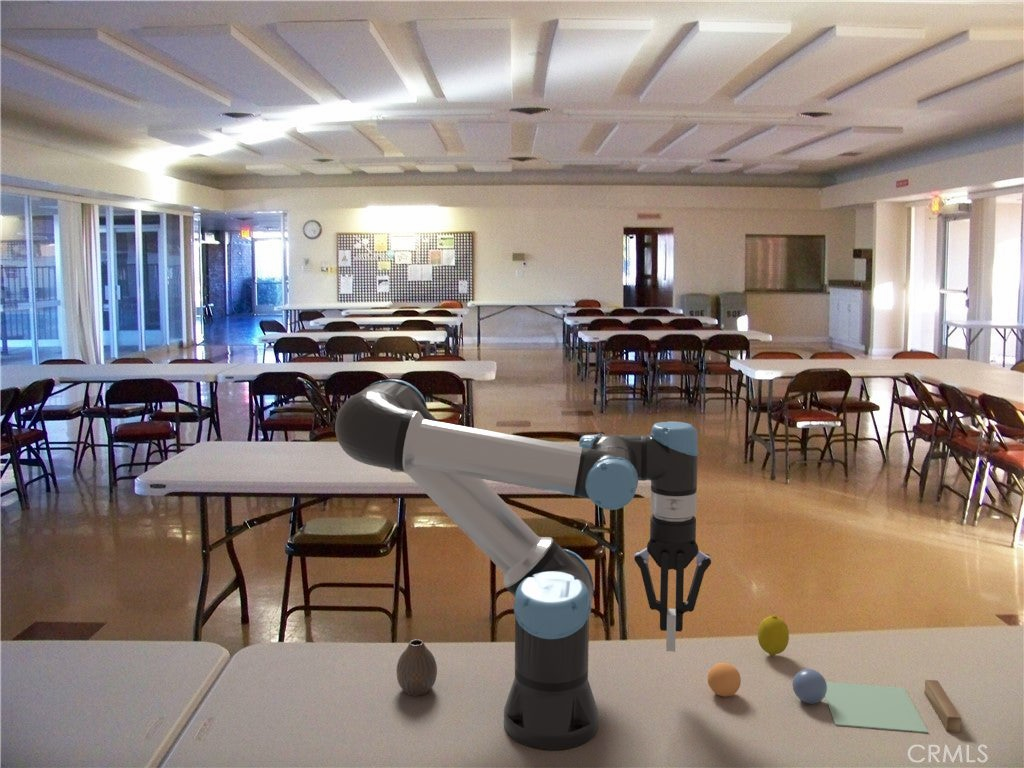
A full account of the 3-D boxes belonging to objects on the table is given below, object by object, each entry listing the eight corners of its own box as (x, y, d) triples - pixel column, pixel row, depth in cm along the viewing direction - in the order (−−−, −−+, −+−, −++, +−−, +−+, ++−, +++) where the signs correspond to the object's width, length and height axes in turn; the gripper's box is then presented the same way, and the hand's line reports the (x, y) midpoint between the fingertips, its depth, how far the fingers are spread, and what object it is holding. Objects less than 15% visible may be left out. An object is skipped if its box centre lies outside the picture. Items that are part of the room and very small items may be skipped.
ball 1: (707, 701, 149) (709, 670, 149) (706, 685, 155) (707, 655, 154) (741, 704, 149) (742, 673, 148) (738, 687, 154) (739, 658, 153)
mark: (835, 725, 142) (835, 724, 142) (819, 682, 156) (819, 681, 156) (928, 732, 140) (928, 731, 140) (904, 688, 154) (904, 687, 154)
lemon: (789, 664, 162) (791, 622, 161) (757, 661, 164) (759, 620, 162) (786, 650, 168) (788, 610, 166) (755, 647, 169) (757, 608, 168)
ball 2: (794, 708, 147) (796, 677, 146) (789, 691, 153) (791, 661, 152) (828, 711, 146) (830, 680, 145) (822, 694, 152) (824, 664, 151)
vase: (411, 704, 148) (410, 655, 147) (389, 688, 154) (388, 641, 152) (445, 691, 153) (444, 643, 151) (422, 676, 158) (421, 629, 156)
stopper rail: (946, 731, 140) (947, 716, 140) (924, 693, 152) (925, 679, 152) (959, 732, 140) (961, 717, 140) (936, 694, 152) (937, 680, 151)
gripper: (633, 520, 145) (631, 655, 149) (714, 523, 143) (710, 660, 147) (634, 506, 153) (632, 635, 157) (711, 509, 151) (708, 640, 154)
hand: (670, 647), depth 152 cm, fingers closed
